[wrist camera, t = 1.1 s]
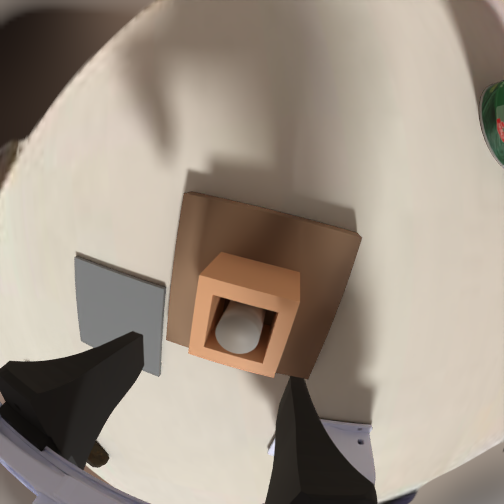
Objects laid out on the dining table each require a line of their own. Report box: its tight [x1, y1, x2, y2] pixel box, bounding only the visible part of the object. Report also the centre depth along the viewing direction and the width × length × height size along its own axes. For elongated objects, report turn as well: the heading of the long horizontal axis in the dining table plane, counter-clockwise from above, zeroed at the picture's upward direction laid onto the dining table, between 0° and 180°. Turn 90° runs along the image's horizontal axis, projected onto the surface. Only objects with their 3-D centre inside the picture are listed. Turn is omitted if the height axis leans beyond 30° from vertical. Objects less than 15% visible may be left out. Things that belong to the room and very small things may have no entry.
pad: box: [75, 256, 166, 377], centre depth 24 cm, size 10×10×1 cm
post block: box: [166, 192, 362, 379], centre depth 18 cm, size 12×12×6 cm
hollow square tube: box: [188, 252, 300, 378], centre depth 17 cm, size 5×5×4 cm
